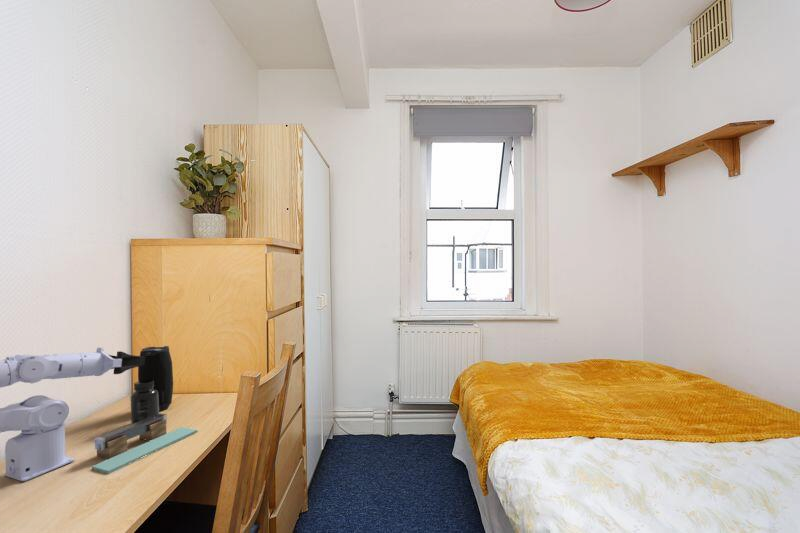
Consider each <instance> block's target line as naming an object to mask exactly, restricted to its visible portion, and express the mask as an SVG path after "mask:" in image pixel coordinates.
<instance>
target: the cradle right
mask: <svg viewBox="0 0 800 533" xmlns="http://www.w3.org/2000/svg"><path fill="white" fill-rule="evenodd" d="M165 434H167V424H166V420H162V421H160V422H157V423H155V424H152V425H150V426H149V431H148V432H145V433H143V434H141V435H138V436H139V439H140V438H141V439H140V440H142V439H146V440H145V441H147V440H153V439H156V438H158V437H160V436H163V435H165Z"/></svg>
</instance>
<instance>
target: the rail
mask: <svg viewBox="0 0 800 533" xmlns="http://www.w3.org/2000/svg"><path fill="white" fill-rule="evenodd" d="M167 417H168V416H167V414H165V413H160V412H159V414H157V415H155V416H152V417H149V418H147V419H144V420H142V421H139V422H136V423H134V424H132V423H131V424H128V425H126V426H123V427H121V428H118V429H115V430H113V431H110V432H108V433H105V434H102V435H100V436H97V437H95V438H94V450H96V451H97V450H101V451H102V450H104V449H107V442H110V441H112V440H115V439H117V438H120V437H122V436H125V435H126V436H127V441H129V440H131V439H133V438H136V437H138V436H139V435H141V434H143V433H145V432H148V431H149V426H150V425H152V424H155V423H157V422H160V421H162V420H166V425H167V424H168V423H167V422H168V421H167V419H168V418H167Z"/></svg>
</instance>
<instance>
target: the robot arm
mask: <svg viewBox="0 0 800 533" xmlns="http://www.w3.org/2000/svg"><path fill="white" fill-rule="evenodd" d="M104 348H105V347H97V348H96V351H95V352H94V351H93V352H74V353H73V352H72V353H71V352H70V353H54V354H43V355H33V354H15V355H14V356H13V355H10V356H6V357H5V358H6V359H5V358H4V359H1V360H0V389H1V388H5V387H10V386H12V385H14V384H16V383H18V382H21V383H26V384H31V385H32V384H36V383H39V382H41V381H42V380H49V379H51V380H57V379H59V380H60V379H68V378H69V379H70V378H80V377H92V376H95V377H100V376H103V375H104V374H105V373H107V372H109V371H110V370H113V375H120V374H123V373H125V372H126V371H128V370H130V369H135V368H138V367H139V366H142V365H144V364H145V357H143V356H140V355H134V354H129V353H126V352H124V351H117V352H116V355H112V354H108V353H106V352H105V349H104ZM69 413H70V406H69V405H68V403H66V402H65V401H64V400H61V399H54V398H50V397H48V396H45V395H42V394H40V395H38V394H37V395H33V396H29V397H28V398H26V399H24V400H22V401H20V402H16V403H11V404H8V405H7V406H4V407H1V408H0V434H1V433H5V432H10V431H11V432H13V431H14V432H16V431H20V433H19V434H18V435H16V436H13V437H11V438H8V439H7V440H6V443H5V448H4V451H5V452H4V453H5V454H4V456H5V472H4V474H3V475H4V476H5V477H8V478H11V479H13V480H17V481H20V482H26V481H29V480H30V479H33V478H36V477H38V476H41V475H43V474H46V473H48V472H51V471H52V470H55V469H58V468H61V467H63V466H65V465H67V464H70V463H73V462H74V461H76V459H75V458H74V457H70V456H67V455H66V432H65V429H66V428H65V427H66V426H65V421H66V420H67V419H68V416H69Z"/></svg>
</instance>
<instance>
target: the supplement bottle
mask: <svg viewBox="0 0 800 533" xmlns="http://www.w3.org/2000/svg"><path fill="white" fill-rule="evenodd" d="M153 387H154V380H142V381H138V380H137V381H135V382H134V383H133V392H132V393H131V395H130V397H129V398H130V400H129V401H130V422H131V424H134V423H136V422H139V421H142V420H144V419H147V418H149V417H152V416H155V415H157V414H160V412H159V397H158V391H157V389H155V388H153Z"/></svg>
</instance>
